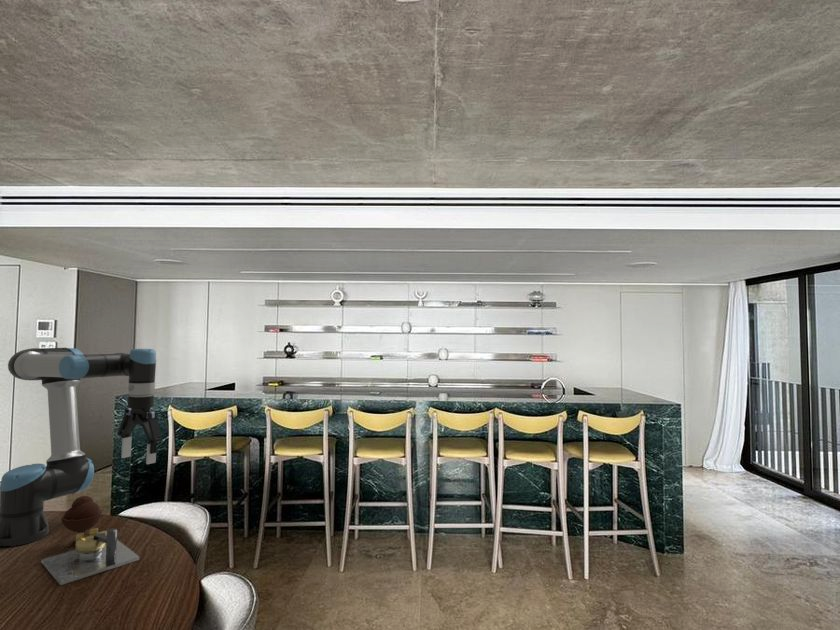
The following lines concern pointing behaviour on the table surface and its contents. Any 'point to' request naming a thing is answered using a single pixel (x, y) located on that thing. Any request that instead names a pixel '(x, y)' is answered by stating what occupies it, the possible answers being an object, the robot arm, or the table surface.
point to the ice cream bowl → (81, 515)
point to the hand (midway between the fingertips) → (138, 460)
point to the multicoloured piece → (98, 543)
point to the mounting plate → (85, 563)
